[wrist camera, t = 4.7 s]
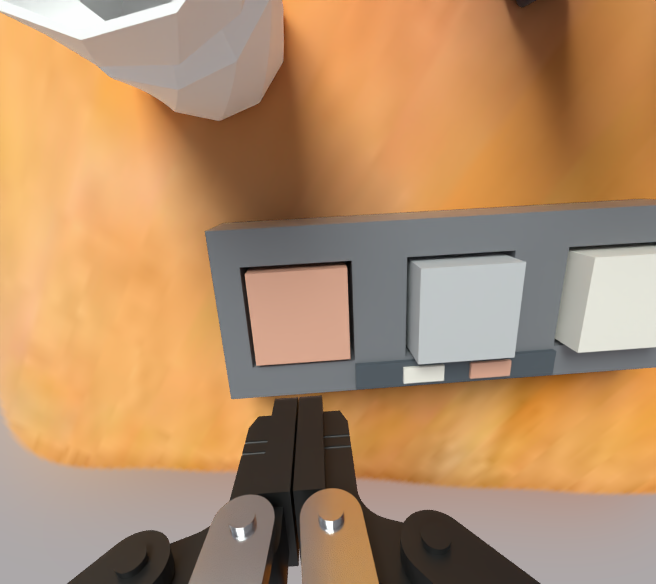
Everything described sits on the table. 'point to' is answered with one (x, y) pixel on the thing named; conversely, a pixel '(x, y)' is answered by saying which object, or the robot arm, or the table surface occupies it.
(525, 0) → the red and grey box
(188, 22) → the vase
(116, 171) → the table surface
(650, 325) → the cream key
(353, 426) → the table surface
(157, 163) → the table surface
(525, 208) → the keypad housing
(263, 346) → the terracotta key
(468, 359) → the grey key
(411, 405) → the table surface
